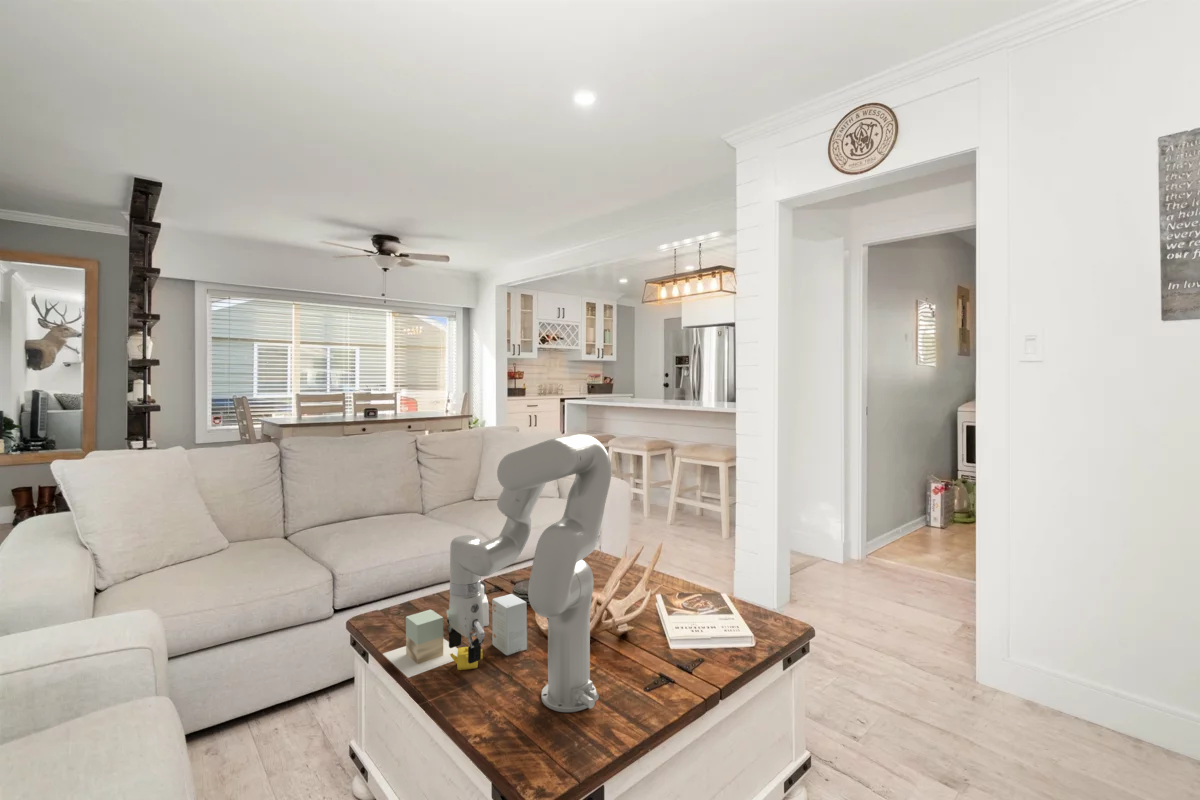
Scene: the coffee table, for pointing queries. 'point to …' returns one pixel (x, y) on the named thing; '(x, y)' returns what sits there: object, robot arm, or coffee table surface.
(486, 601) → the medicine bottle
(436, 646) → the tower bottom
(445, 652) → the felt pad
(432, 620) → the tower top
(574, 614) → the robot arm
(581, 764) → the coffee table surface
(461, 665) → the teapot
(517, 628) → the small box
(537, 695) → the coffee table surface
